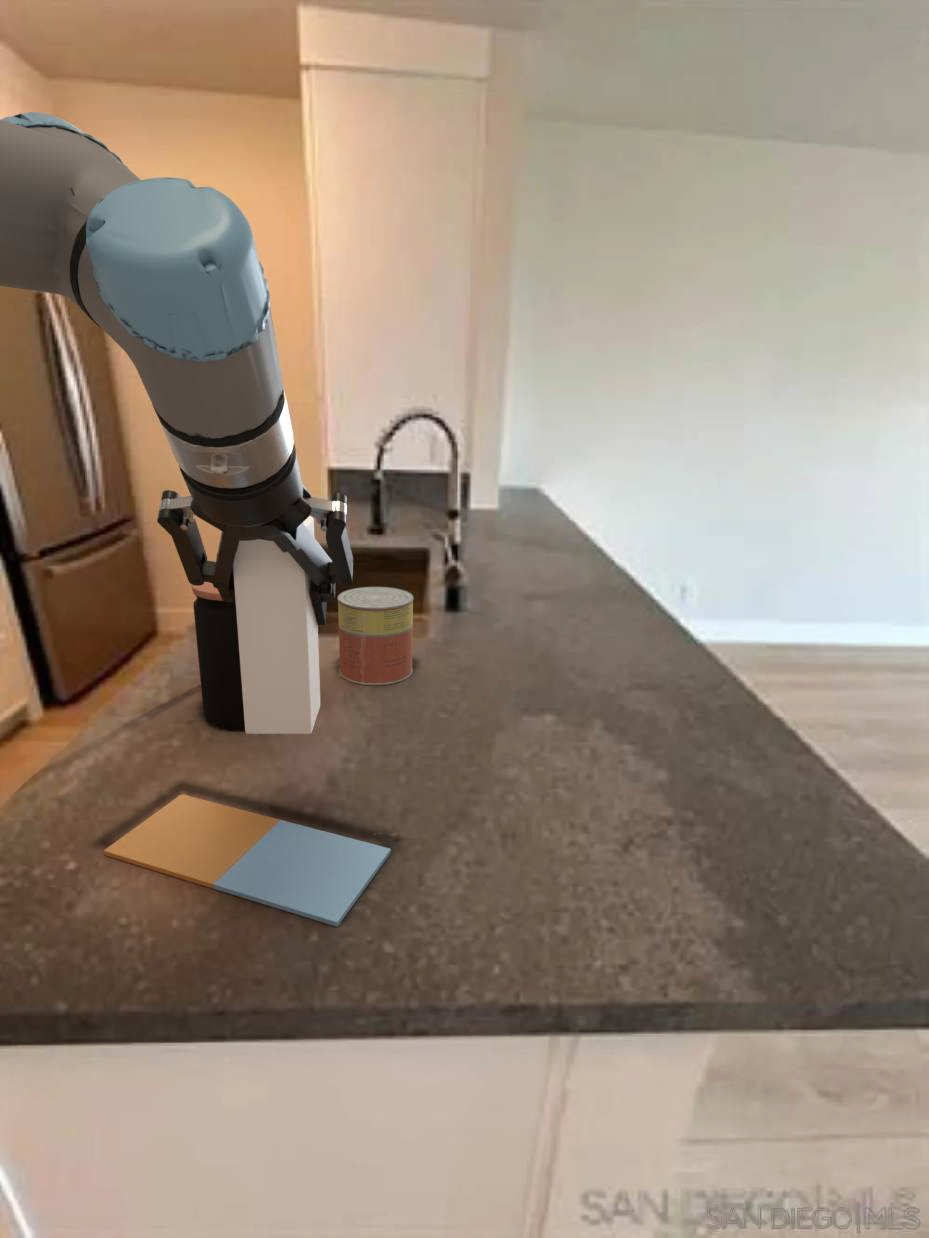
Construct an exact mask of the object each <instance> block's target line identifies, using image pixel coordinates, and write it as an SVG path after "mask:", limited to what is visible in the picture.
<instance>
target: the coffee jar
mask: <svg viewBox="0 0 929 1238" xmlns="http://www.w3.org/2000/svg"><path fill="white" fill-rule="evenodd" d="M191 589H192V590H191V591H192V594H193V595H194V596H195V597H196V599H195V600H194V601H193V606H192V607H193V617H194V627H195V636H196V648H197V659H198V669H199V681H200V691H201V698H202V699H201V702H202V709H203V712H204V715H205V717H206V718H207V719H209V721H210V722H211V723H212V724H213V725H214V726H217V727H218V728H222V729H228V730H235V731H236V730H237V731H238V730H245V721H244V707H243V694H242V681H241V667H240V654H239V641H238V627H237V614H236V607H235V605H234V602H225V601H224V600H222V598H221V596H220V593H219V591H218V589H217V588H215V587H213V584H212V583H209V582H204V584H203V585H201V586H195V585H192V584H191Z"/></svg>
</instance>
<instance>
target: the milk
mask: <svg viewBox="0 0 929 1238" xmlns="http://www.w3.org/2000/svg"><path fill="white" fill-rule="evenodd" d="M314 518H315V517H314ZM314 518H313V516H312V515H310V516H309V517H308V518H307V519H306V520H305V521H304V522H303V524H304V525H305V526H306V528H307V529H308V530H309V532H310V533H311V534H312V535H313V537H314V538H315V519H314ZM233 574H234V587H235V601H236V614H237V627H238V641H239V654H240V667H241V681H242V694H243V707H244V721H245V729H244V732H245V734H246V735H311V734H313V733H312V732H313V729H314V728H315V727H314V726H315V724H316V721H317V717H318V715H319V712H320V709H321V681H320V680H321V679H320V677H321V676H320V655H319V654H320V653H319V651H320V650H319V625H318V624H317V620H316V616H315V611H314V607H313V602H312V598H311V593H310V586H311V578H310V577H309V576H308V575H307V574H306V572H305V571H304V570H303V569H302V568H301V567H300V565H299V564H298V563H297V562H296V561H295V560H294V558H293V557H292V556H291V555H290V554H289V553H288V552H282V551H281V549H280V548H279V547H278V546H277V545H276V544H275V543H274V541H267V540H261V539H257V540H250V541H239V545H238V549H237V552H236V555H235V559H234V563H233Z"/></svg>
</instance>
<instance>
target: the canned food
mask: <svg viewBox="0 0 929 1238" xmlns="http://www.w3.org/2000/svg"><path fill="white" fill-rule="evenodd" d="M414 599H415V597H414V595H413V594H412V593H411V592H409V591H407V590H404V589H400V588H396V587H388V586H363V587H356V588H350V589H347V590H344V591H342V592H340V593H339V594H338V595H337V603H338V604H337V607H338V608H337V609H338V645H339V646H338V649H339V651H338V652H339V670H338V674H339V675H340V677H341V678H342V679H344V680H345V681H347V682H350V683H353V684H356V685H362V686H388V685H393V684H398V683H400V682H403V681H405V680H407V679H409V678H410V677H411V676H412V674H413V672H414V670H413V634H414V633H413V627H414V626H413V621H414Z"/></svg>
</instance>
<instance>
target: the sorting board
mask: <svg viewBox="0 0 929 1238" xmlns="http://www.w3.org/2000/svg"><path fill="white" fill-rule="evenodd" d="M391 853H392V849H391V848H390V847H386V846H382V845H379V844H374V843H371V842H367V841H362V840H359V839H355V838H351V837H347V836H343V835H340V834H336V833H332V832H328V831H324V830H320V829H317V828H313V827H310V826H305V825H302V824H299V823H298V824H297V823H294V822H290V821H286V820H282V819H278V818H275V817H271V816H267V815H263V814H259V813H255V812H253V811H249V810H246V809H240V808H237V807H233V806H229V805H225V804H222V803H218V802H213V801H210V800H205V799H202V798H199V797H194V796H190V795H187V794H183V793H181V794H179V795H178V796H177V797H175V798H174V799H172V800H171V801H170V802H169V803H167V804H166V805H164V806H163V807H162V808H160V809H158V810H157V811H156V812H155V813H153V814H152V815H150V816H149V817H148V818H147V819H145V820H144V821H142V822H140V824H138V825H137V826H135V827H134V828H133V829H131V830H130V831H129V832H127V833H126V834H124V835H123V836H122V837H120V838H119V839H118V840H115V842H113V843H111V845H109V846H108V847H106V848H105V849H104V850H103V855H104V856H106V857H110V858H112V859H115V860H119V861H122V862H125V863H129V864H131V865H136V866H139V867H142V868H144V869H145V868H146V869H148V870H152V871H155V872H157V873H161V874H164V875H168V876H171V877H174V878H178V879H181V880H184V881H187V882H189V883H193V884H197V885H200V886H204V887H207V888H209V889H213V890H216V891H219V892H222V893H226V894H229V895H233V896H235V897H238V898H241V899H245V900H249V901H251V902H255V903H259V904H261V905H264V906H268V907H271V908H274V909H278V910H281V911H284V912H287V913H290V914H294V915H297V916H301V917H304V918H307V919H310V920H314V921H317V922H319V923H323V924H326V925H330V926H333V927H336V928H338V926H339V925H341V923H342V921H343V920H344V919H345V918H346V916H347V915H348V913H349V912H350V911H351V909H352V908H353V906H354V905H355V903H356V902H357V901H358V899H359V898H360V897H361V895H363V892H365V890H366V889H367V887H368V885H369V884H370V883H371V882H372V880H373V878H374V877H375V876H376V875H377V874H378V872H379V870H380V869H381V867H382V866H383V865H384V863H385V862H386V861H387V860H388V858H389V856H391Z"/></svg>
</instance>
